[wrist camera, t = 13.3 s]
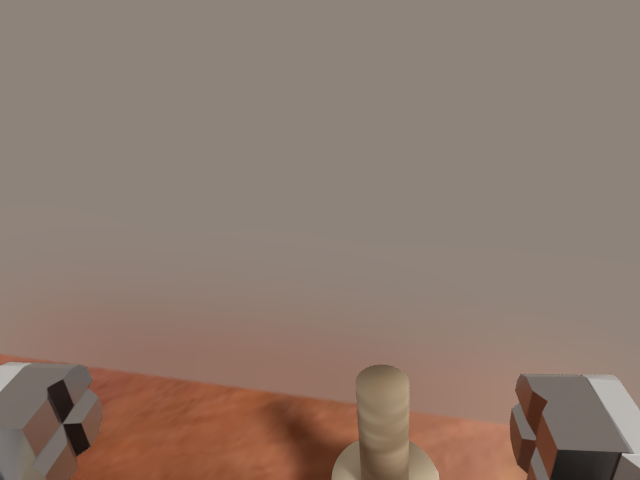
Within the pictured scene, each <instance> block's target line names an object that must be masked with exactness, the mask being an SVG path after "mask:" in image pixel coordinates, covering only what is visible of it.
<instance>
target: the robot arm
mask: <svg viewBox="0 0 640 480" xmlns="http://www.w3.org/2000/svg"><path fill="white" fill-rule="evenodd" d="M91 382H92V378H91V376H90V373H89V371H88V369H87V367H85V366H82V365H74V364H52V363H19V362H9V363H6V364H4V365H1V366H0V480H70V479H71V477H72V476H73V474H74V473H75V471H76V470H77V468H78V466H77V456H78V455H80V454H81V453H83V452H84V451H85V450H87V449H88V448H90V447H91V445H92V444H93V442H94V440H95V438H96V437H97V435H98V433H99V429H100V426H101V422H102V405H101V402H100V399H99V397H98V396H97V395H96V394H94V393H93V392H92V391H91V390H90V389H88V388H89V386H90V384H91ZM515 391H516V394H517V397H518V399H519V402H520V403H518V404H517V405H516V406H515V407H514V408H512V411H511V419H510V437H511V443H512V448H513V452H514V456H515V459H516V462H517V464H518V465H519V466H520V467H521V468H522V469H523V470H524V471H525V472H526V473H527V474H528V476H527V480H640V410H639V409H638V407H637V406H636V404H635V403H634V401H633V400H632V398H631V397H630V395H629V394H628V392H627V391H626V390H625V388H624V387H623V385H622V384H621V382H620V381H619V379H617V378H616V377H615V376H613V375H584V374H583V375H582V374H581V375H560V374H559V375H556V374H520V376H519V378H518V380H517V384H516V389H515Z"/></svg>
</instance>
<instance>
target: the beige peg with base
mask: <svg viewBox="0 0 640 480" xmlns="http://www.w3.org/2000/svg"><path fill="white" fill-rule="evenodd" d="M356 397H357V414H358V432H359V440H357V441H355V442H353V443H352V444H350V445H349V446H348V447H347V448H345V449H344V450H343V452H342V453H341V454H340V455H339V457H338V458H337V460H336V462H335V464H334V468H333V471H332V480H439V477H438V473H437V470H436V468H435V466H434V464H433V462H432V461H431V459H430V458H429V456H428V455H427V454H426V453H425V452H424V451H423V450H422V449H421V448H419V447H418V446H417V445H415V444H414V443H412V442H410V441H409V380H408V377H407V376H406V375H405V374H404V372H402V371H401V370H400V369H398V368H395V367H393V366H389V365H374V366H370V367H368V368H366V369H364V370H363V371H362V372H360V373H359V375H358V376H357V379H356Z"/></svg>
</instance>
